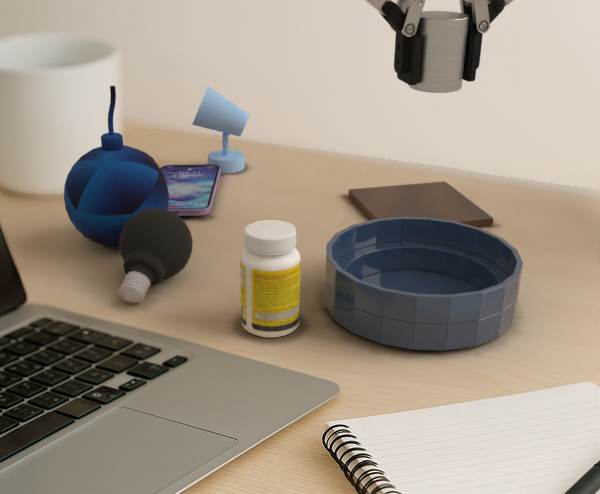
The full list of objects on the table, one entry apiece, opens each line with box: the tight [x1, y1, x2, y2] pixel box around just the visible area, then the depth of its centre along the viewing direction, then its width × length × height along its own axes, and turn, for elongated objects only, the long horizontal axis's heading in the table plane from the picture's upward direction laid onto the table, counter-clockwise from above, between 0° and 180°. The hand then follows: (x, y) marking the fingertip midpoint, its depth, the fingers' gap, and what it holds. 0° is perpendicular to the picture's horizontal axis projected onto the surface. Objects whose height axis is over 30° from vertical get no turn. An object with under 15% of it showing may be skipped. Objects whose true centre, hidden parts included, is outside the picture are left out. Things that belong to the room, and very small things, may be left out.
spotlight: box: [192, 85, 250, 175], centre depth 100 cm, size 5×10×7 cm
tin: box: [408, 10, 469, 94], centre depth 71 cm, size 5×5×6 cm
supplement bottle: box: [239, 219, 302, 338], centre depth 65 cm, size 5×5×8 cm
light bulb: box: [118, 208, 193, 304], centre depth 72 cm, size 6×6×10 cm
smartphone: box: [159, 163, 222, 217], centre depth 94 cm, size 7×1×15 cm
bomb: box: [63, 85, 169, 249], centre depth 78 cm, size 10×11×15 cm
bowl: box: [324, 217, 524, 351], centre depth 70 cm, size 16×16×5 cm
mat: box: [347, 180, 494, 228], centre depth 91 cm, size 12×12×1 cm
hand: (435, 77), depth 72 cm, fingers closed on tin, 4 cm apart
